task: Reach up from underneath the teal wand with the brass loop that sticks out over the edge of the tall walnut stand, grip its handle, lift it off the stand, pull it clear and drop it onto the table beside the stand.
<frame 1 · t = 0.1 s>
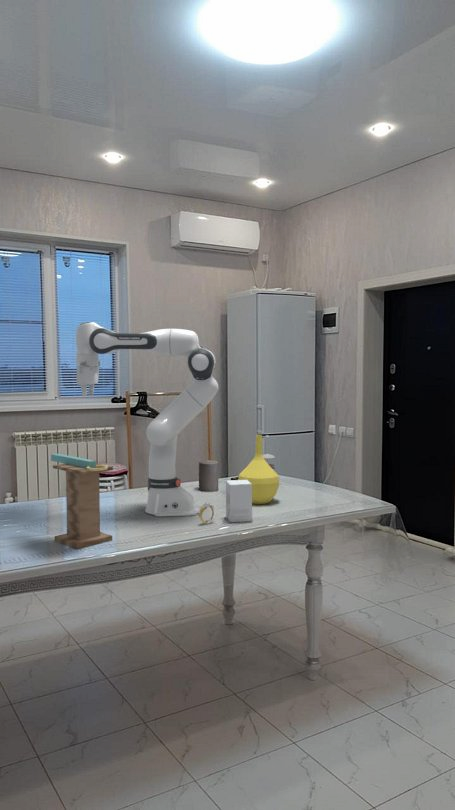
hand: (87, 395, 250), 48 cm above the table, tool pointing down, fingers open, 8 cm apart
stand: (83, 540, 210), on the table
pillar candle: (208, 490, 295), on the table
supplement box: (238, 519, 239), on the table
ring: (207, 523, 233), on the table
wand: (72, 464, 212), point 26 cm above the table, touching stand
vase: (258, 502, 270), on the table
french press: (265, 483, 311), on the table
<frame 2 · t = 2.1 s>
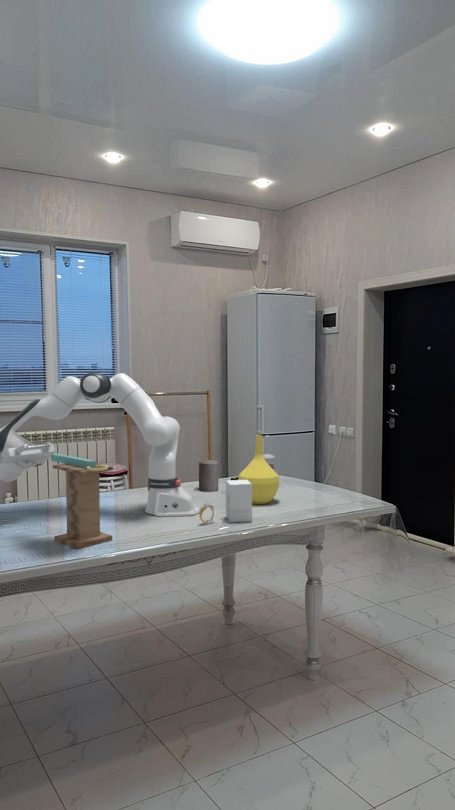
hand: (37, 445, 227), 31 cm above the table, tool pointing upward, fingers open, 8 cm apart
nothing on the table moved.
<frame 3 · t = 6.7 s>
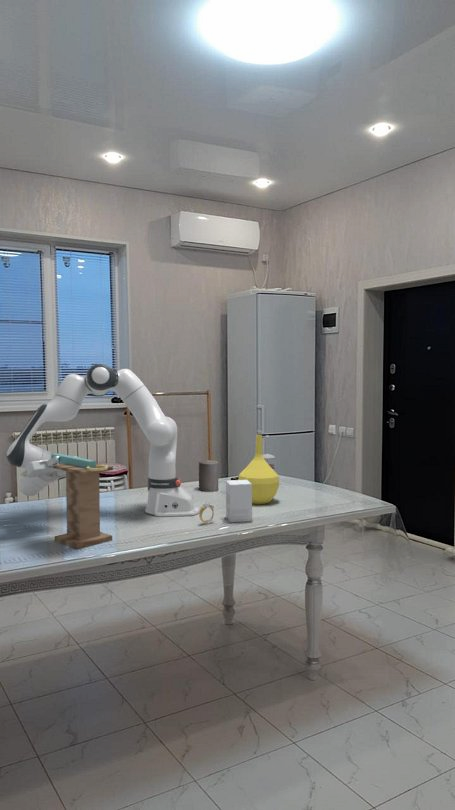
hand: (62, 457, 216), 28 cm above the table, tool pointing upward, fingers closed on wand, 2 cm apart
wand: (72, 464, 212), point 26 cm above the table, touching gripper, stand
everything else where it was.
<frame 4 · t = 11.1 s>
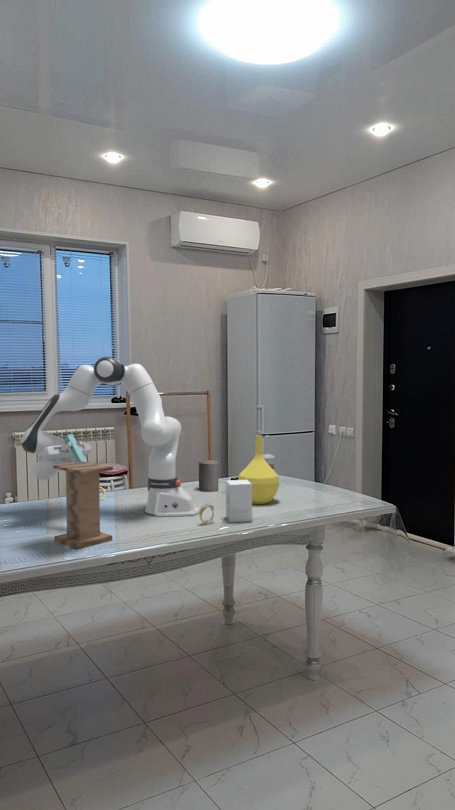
hand: (75, 443, 231), 31 cm above the table, tool pointing upward, fingers closed on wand, 2 cm apart
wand: (80, 462, 230), point 24 cm above the table, tilted 45°, touching gripper
everything else where it was.
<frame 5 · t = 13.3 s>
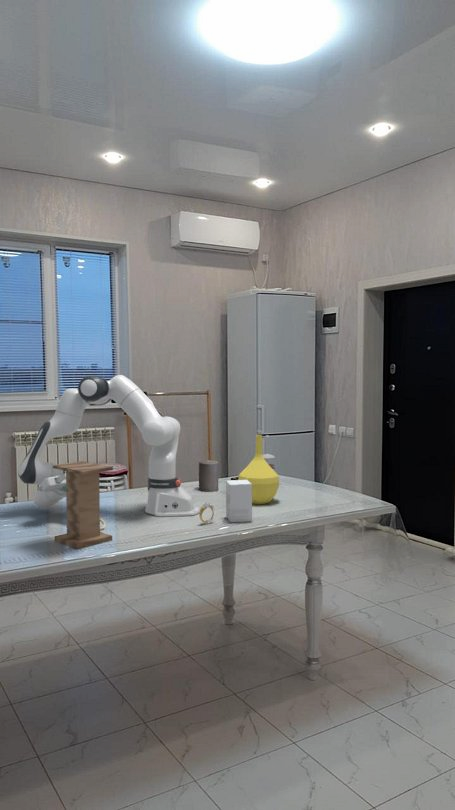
hand: (75, 473, 232), 19 cm above the table, tool pointing upward, fingers open, 6 cm apart
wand: (76, 500, 233), point 9 cm above the table, tilted 29°, touching arm
everything else where it was.
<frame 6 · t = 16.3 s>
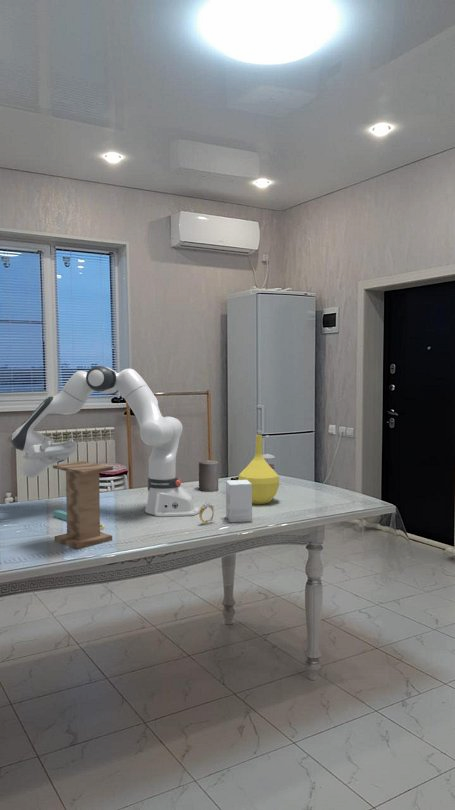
hand: (61, 441, 238), 30 cm above the table, tool pointing upward, fingers open, 8 cm apart
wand: (73, 521, 235), on the table
everything else where it was.
at the end: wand touching table; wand on the table; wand moved 34.0 cm from its start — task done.
